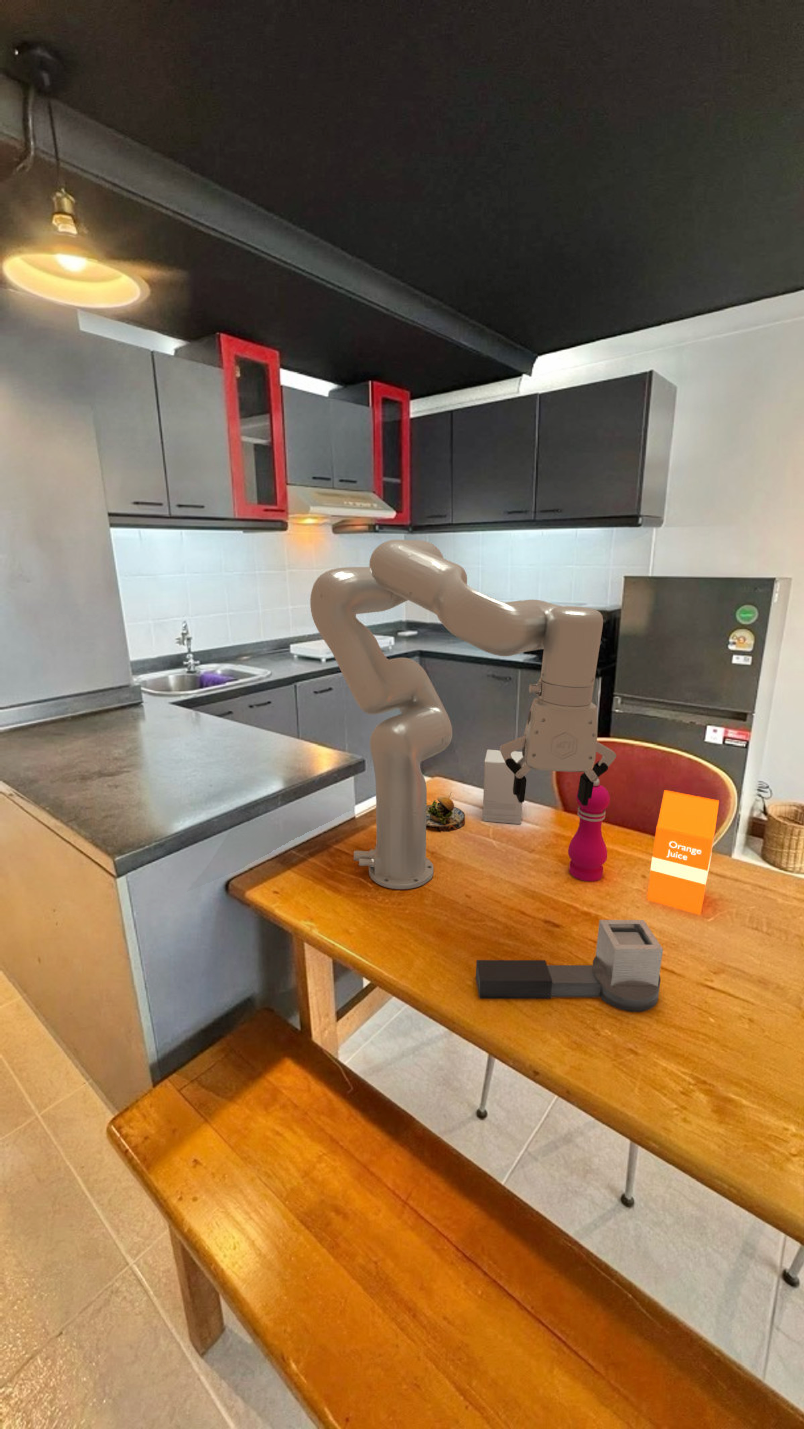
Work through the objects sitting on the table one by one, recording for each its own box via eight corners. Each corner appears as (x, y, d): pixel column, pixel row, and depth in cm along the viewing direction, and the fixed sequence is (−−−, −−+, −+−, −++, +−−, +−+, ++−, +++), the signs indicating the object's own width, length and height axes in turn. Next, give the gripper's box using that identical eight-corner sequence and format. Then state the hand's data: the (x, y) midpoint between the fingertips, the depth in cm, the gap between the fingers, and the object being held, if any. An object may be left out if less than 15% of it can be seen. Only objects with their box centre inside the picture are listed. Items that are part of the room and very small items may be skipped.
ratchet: (481, 1011, 78) (484, 962, 76) (473, 966, 87) (475, 920, 85) (669, 1012, 78) (676, 962, 76) (642, 966, 87) (648, 920, 85)
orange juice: (700, 915, 99) (718, 808, 94) (646, 899, 104) (659, 797, 99) (705, 893, 106) (721, 792, 100) (653, 879, 110) (666, 782, 105)
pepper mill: (600, 864, 116) (610, 771, 110) (609, 884, 109) (620, 785, 103) (563, 862, 116) (571, 769, 111) (569, 882, 109) (578, 784, 104)
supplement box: (521, 809, 141) (525, 751, 137) (521, 825, 132) (525, 763, 128) (484, 805, 143) (486, 748, 139) (481, 821, 134) (484, 760, 130)
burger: (416, 809, 141) (417, 781, 139) (465, 811, 140) (466, 783, 138) (412, 832, 130) (412, 801, 128) (464, 834, 128) (466, 804, 126)
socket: (610, 986, 79) (615, 949, 77) (595, 955, 85) (599, 920, 83) (657, 986, 79) (663, 949, 77) (639, 955, 85) (643, 920, 83)
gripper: (509, 697, 80) (498, 808, 85) (634, 703, 80) (615, 814, 85) (501, 684, 87) (491, 787, 92) (616, 689, 87) (599, 792, 92)
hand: (550, 800), depth 89 cm, fingers open, 9 cm apart
